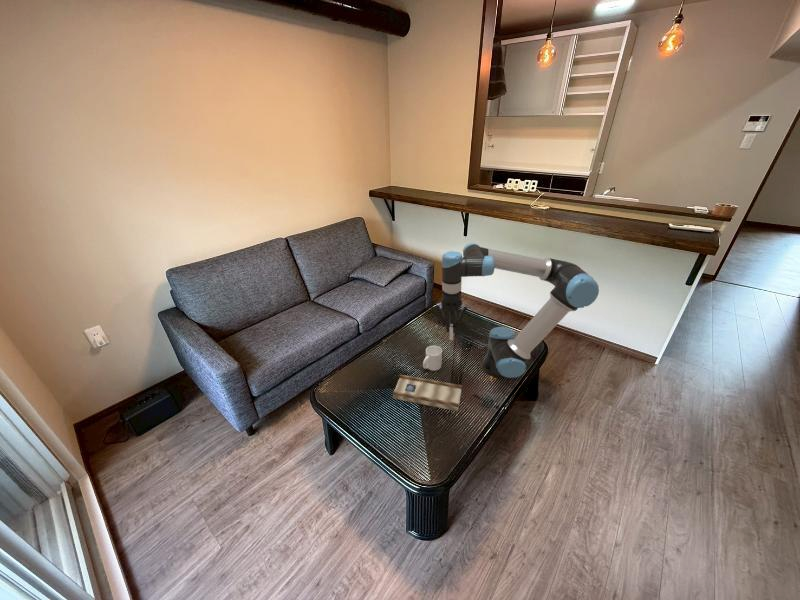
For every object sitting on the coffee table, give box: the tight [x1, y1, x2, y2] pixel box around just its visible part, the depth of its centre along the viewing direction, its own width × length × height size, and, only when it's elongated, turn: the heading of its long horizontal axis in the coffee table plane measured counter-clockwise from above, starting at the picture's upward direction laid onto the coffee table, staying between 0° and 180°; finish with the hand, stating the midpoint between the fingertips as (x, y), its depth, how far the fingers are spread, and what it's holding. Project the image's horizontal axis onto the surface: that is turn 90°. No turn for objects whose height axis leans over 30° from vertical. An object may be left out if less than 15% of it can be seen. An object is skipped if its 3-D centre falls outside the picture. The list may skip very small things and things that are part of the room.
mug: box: [422, 345, 443, 372], centre depth 156 cm, size 12×8×10 cm
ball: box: [406, 386, 415, 392], centre depth 143 cm, size 4×4×4 cm
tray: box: [392, 374, 463, 412], centre depth 141 cm, size 30×12×4 cm, turn 74°
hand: (451, 338), depth 132 cm, fingers closed
